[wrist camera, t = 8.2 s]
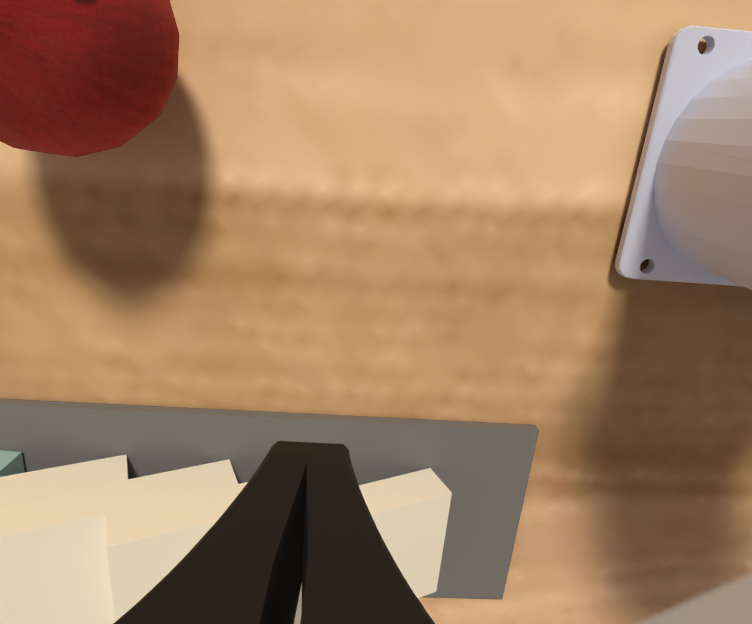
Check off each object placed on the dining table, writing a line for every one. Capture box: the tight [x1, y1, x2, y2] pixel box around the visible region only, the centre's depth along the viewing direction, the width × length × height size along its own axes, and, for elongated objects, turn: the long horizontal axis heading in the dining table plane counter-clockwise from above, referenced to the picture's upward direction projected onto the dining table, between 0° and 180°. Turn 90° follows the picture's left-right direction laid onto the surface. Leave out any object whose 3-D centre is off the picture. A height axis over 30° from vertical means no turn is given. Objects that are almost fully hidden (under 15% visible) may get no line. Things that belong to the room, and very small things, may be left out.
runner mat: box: [0, 399, 539, 599], centre depth 22 cm, size 22×9×1 cm, turn 85°
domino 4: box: [294, 468, 452, 624], centre depth 20 cm, size 2×5×8 cm
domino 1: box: [0, 455, 129, 505], centre depth 19 cm, size 2×5×8 cm
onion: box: [0, 0, 179, 157], centre depth 12 cm, size 6×6×8 cm
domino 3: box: [106, 482, 248, 621], centre depth 20 cm, size 2×5×8 cm
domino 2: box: [0, 459, 238, 624], centre depth 19 cm, size 2×5×8 cm
